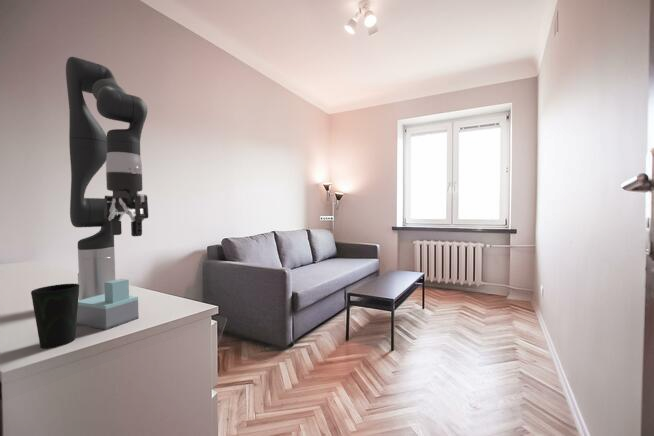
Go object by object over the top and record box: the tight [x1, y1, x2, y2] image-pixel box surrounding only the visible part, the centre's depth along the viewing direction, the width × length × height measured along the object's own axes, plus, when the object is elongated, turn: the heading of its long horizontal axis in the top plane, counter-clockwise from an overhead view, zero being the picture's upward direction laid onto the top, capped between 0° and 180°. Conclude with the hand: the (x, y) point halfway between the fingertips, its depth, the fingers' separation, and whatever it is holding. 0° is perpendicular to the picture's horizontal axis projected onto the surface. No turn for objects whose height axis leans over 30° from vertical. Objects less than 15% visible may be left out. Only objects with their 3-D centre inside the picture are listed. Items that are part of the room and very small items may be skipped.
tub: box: [76, 299, 140, 331], centre depth 75 cm, size 12×8×5 cm, turn 69°
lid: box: [78, 278, 139, 309], centre depth 75 cm, size 12×8×7 cm, turn 69°
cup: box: [30, 283, 79, 349], centre depth 63 cm, size 8×8×12 cm
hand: (126, 235), depth 74 cm, fingers open, 8 cm apart
